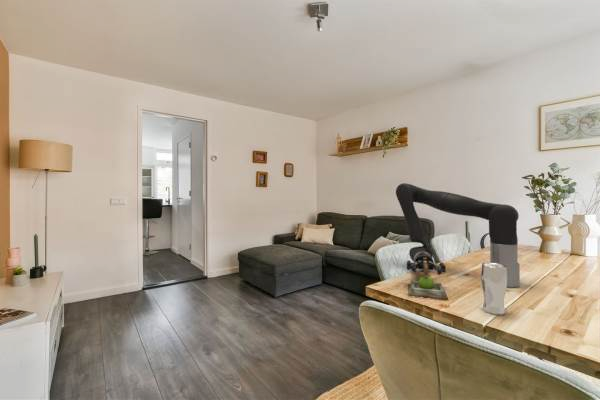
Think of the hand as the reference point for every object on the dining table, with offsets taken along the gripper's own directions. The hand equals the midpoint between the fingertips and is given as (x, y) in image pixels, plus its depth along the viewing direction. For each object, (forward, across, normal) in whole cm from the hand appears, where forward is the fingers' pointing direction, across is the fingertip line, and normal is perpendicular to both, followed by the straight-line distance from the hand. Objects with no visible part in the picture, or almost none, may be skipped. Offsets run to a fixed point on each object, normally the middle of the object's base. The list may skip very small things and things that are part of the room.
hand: (427, 271), depth 105 cm
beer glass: (+11, +19, +9) cm, 23 cm away
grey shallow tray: (0, 0, +9) cm, 9 cm away
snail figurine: (-1, 0, +8) cm, 8 cm away
